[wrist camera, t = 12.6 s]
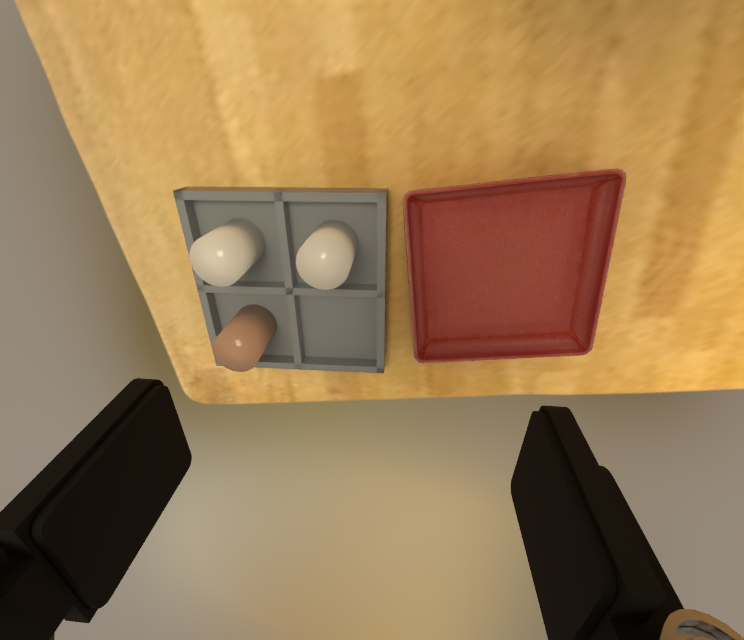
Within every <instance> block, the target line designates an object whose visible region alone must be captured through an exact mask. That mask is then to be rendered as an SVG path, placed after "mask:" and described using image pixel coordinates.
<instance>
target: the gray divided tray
mask: <svg viewBox="0 0 744 640" xmlns="http://www.w3.org/2000/svg"><path fill="white" fill-rule="evenodd" d="M173 193H174V197H175V201H176V205H177V209H178V213H179V217H180V221H181V225H182V229H183V233H184V237H185V241H186V245H187V249H188V253H189V257H190V249H191V246H192V245H193V243H194V242H195V241H196V240H197V239H199V238H201V237H202V236H204V235H206V234H207V233H209V232H211V231H212V230H214V229H216V228H217V227H219V226H221V225H222V224H224V223H226V222H227V221H229V220H231V219H235V218H242V219H246V220H248V221H250V222H252V223H254V224H255V225H256V226H257V227H258V228H259V229H260V230H261V232H262V234H263V236H264V239H265V251H264V254H263V255H262V257H261V258H260V259H259V260H258V261H257V262H256V263H255V264H254V265H253V266H252V267H251V268H250V269H249V270H248V271H247V272H246V273H245V274H244V275H243V276H241V277H240V278H239V279H238V280H237V281H236V282H235V283H234V284H232V285H230V286H225V287H219V286H214V285H211V284H209V283H207V282H205V281H204V280H202V279H201V278H200V277H199V276H198V275H197V274H196V272H195V271H194V269H193V267H192V269H193V273H194V277H195V281H196V285H197V289H198V293H199V297H200V301H201V305H202V309H203V313H204V317H205V322H206V326H207V330H208V334H209V338H210V342H211V346H212V345H213V342H214V340H215V338H216V337H217V336H218V335H219V334H220V332H221V331H222V330H223V329H224V328H225V327H226V325H227V324H228V323H229V322H230V321H231V320H232V318H233V317H234V316H235V315H236V314H237V313H238V311H239V310H240V309H241V308H242V307H244V306H246V305H251V304H255V305H260V306H263V307H265V308H267V309H268V310H269V311H270V312H271V313H272V314H273V315H274V317H275V319H276V321H277V330H276V333H275V334H274V336H273V338H272V339H271V341H270V342H269V344H268V346H267V347H266V349H265V351H264V352H263V354H262V356H261V357H260V359H259V361H258V362H257V364H256V365H255V367H258V368H280V369H302V370H323V371H345V372H367V373H384V366H385V320H386V253H387V189H376V188H272V187H184V188H180V189H177V190H174V191H173ZM327 220H339V221H342V222H344V223H346V224H348V225H349V226H350V227H351V228H352V229H353V230H354V232H355V234H356V236H357V239H358V250H357V253H356V255H355V258H354V261H353V264H352V266H351V269H350V272H349V275H348V277H347V279H346V280H345V281H344V282H343V283H342V284H341V285H340V286H338V287H336V288H334V289H329V290H321V289H317V288H314V287H312V286H310V285H309V284H307V283H306V282H305V281H304V280H303V279H302V278H301V276H300V275H299V273H298V270H297V267H296V256H297V253H298V251H299V249H300V247H301V246H302V245H303V244H304V242H305V241H306V240H307V239H308V237H309V236H310V235H311V234H312V232H313V231H314V230H315V229H316V227H317V226H318V225H319V224H321V223H322V222H324V221H327ZM214 358H215V356H214ZM215 362H216V366H223V365H222V364H220V363H219V362H218V361H217V359H216V358H215Z"/></svg>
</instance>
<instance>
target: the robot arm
mask: <svg viewBox="0 0 744 640" xmlns="http://www.w3.org/2000/svg"><path fill="white" fill-rule="evenodd" d="M191 459H192V457H191V452H190V449H189V446H188V443H187V441H186V438H185V435H184V432H183V429H182V426H181V423H180V420H179V417H178V414H177V412H176V409H175V406H174V403H173V400H172V397H171V394H170V391H169V389H168V387H166V386H164V385H163V383H162V382H161V381H160V380H155V379H140V378H137V379H134V380H133V381H131V382H130V383H129V384H128V385H127V386H126V387H125V388H124V389H123V390H122V391H121V392H120V393H119V394H118V395H117V396H116V397H115V398H114V399H113V400H112V401H111V402H110V403H109V404H108V405H107V406H106V407H105V408H104V409H103V410H102V411H101V412H100V413H99V414H98V415H97V416H96V417H95V418H94V419H93V420H92V421H91V422H90V423H89V424H88V425H87V426H86V427H85V428H84V429H83V430H82V431H81V432H80V433H79V434H78V435H77V436H76V437H75V438H74V439H73V440H72V441H71V442H70V443H69V444H68V445H67V446H66V447H65V448H64V449H63V450H62V451H61V452H60V453H59V454H58V455H57V456H56V457H55V458H54V459H53V460H52V461H51V462H50V463H49V464H48V465H47V466H46V467H45V468H44V469H43V470H42V471H41V472H40V473H39V474H38V475H37V476H36V477H35V478H34V479H33V480H32V481H31V482H30V483H29V484H28V485H27V486H26V487H25V488H24V489H23V490H22V491H21V492H20V493H19V494H18V495H17V496H16V497H15V498H14V499H13V500H12V501H11V502H10V503H9V504H8V505H7V506H6V507H5V508H4V509H3V510H2V511H1V512H0V640H54V633H55V631H56V629H57V628H58V626H59V625H60V623H61V622H62V620H63V619H65V620H66V621H75V622H83V623H90V621H91V619H92V617H93V616H94V614H95V613H96V611H97V610H98V608H101V607H103V606H104V605H105V604H106V603H107V602H108V601H109V599H110V598H111V596H112V595H113V593H114V591H115V590H116V588H117V586H118V585H119V583H120V581H121V580H122V578H123V576H124V575H125V573H126V571H127V570H128V568H129V566H130V565H131V563H132V561H133V560H134V558H135V557H136V555H137V553H138V551H139V550H140V548H141V547H142V545H143V543H144V542H145V540H146V538H147V536H148V535H149V533H150V532H151V530H152V528H153V527H154V525H155V523H156V522H157V520H158V518H159V517H160V515H161V513H162V512H163V510H164V508H165V507H166V505H167V504H168V502H169V500H170V499H171V497H172V495H173V494H174V492H175V490H176V489H177V487H178V485H179V484H180V482H181V480H182V479H183V477H184V476H185V474H186V472H187V470H188V469H189V467H190V464H191ZM511 495H512V499H513V503H514V507H515V511H516V515H517V519H518V523H519V527H520V530H521V534H522V538H523V542H524V546H525V550H526V554H527V558H528V562H529V566H530V570H531V574H532V577H533V581H534V585H535V589H536V593H537V597H538V601H539V605H540V608H541V613H542V617H543V620H544V624H545V629H546V633H547V636H548V640H744V638H743V637H742V636H740V635H739V634H738V633H737V632H735V631H734V630H733V629H732V628H730V627H729V626H728V625H727V624H725V623H723V622H721V621H719V620H718V619H716V618H714V617H712V616H710V615H709V614H706V613H702V612H699V611H696V610H693V609H692V610H691V609H690V610H689V609H688V610H687V609H684V608H683V606H682V604H681V602H680V600H679V599H678V596H677V595H676V593H675V591H674V589H673V587H672V585H671V584H670V582H669V580H668V578H667V576H666V574H665V572H664V570H663V569H662V567H661V565H660V563H659V561H658V559H657V557H656V556H655V554H654V552H653V550H652V548H651V546H650V544H649V543H648V541H647V539H646V537H645V535H644V533H643V531H642V530H641V528H640V526H639V524H638V522H637V520H636V518H635V517H634V515H633V513H632V511H631V509H630V507H629V506H628V504H627V502H626V500H625V498H624V496H623V494H622V492H621V491H620V489H619V487H618V485H617V483H616V481H615V480H614V478H613V476H612V475H611V473H610V472H609V470H608V469H606V468H605V467H603V466H599V465H598V463H597V461H596V459H595V457H594V455H593V453H592V451H591V449H590V447H589V445H588V443H587V441H586V439H585V437H584V436H583V434H582V432H581V430H580V428H579V426H578V424H577V422H576V420H575V418H574V416H573V414H572V412H571V411H570V409H569V408H567V407H557V406H541V407H540V410H539V411H533V412H532V414H531V417H530V421H529V424H528V427H527V431H526V434H525V437H524V441H523V444H522V447H521V450H520V454H519V457H518V461H517V464H516V467H515V470H514V474H513V477H512V480H511Z"/></svg>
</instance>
